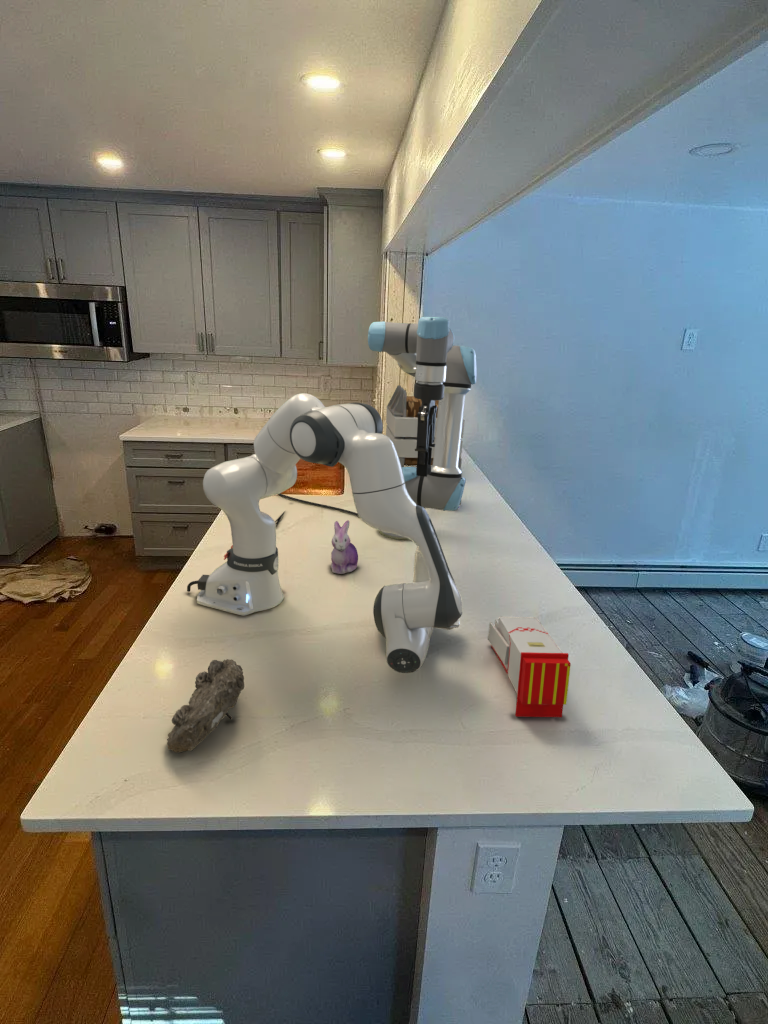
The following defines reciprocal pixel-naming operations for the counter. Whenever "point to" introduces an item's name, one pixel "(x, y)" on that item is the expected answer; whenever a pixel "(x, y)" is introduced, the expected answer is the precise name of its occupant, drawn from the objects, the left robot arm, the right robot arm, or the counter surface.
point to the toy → (531, 665)
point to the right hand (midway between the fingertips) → (423, 473)
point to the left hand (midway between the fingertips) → (421, 595)
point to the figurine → (343, 550)
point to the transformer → (407, 426)
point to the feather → (279, 519)
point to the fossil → (206, 705)
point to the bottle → (420, 568)
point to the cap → (428, 469)
